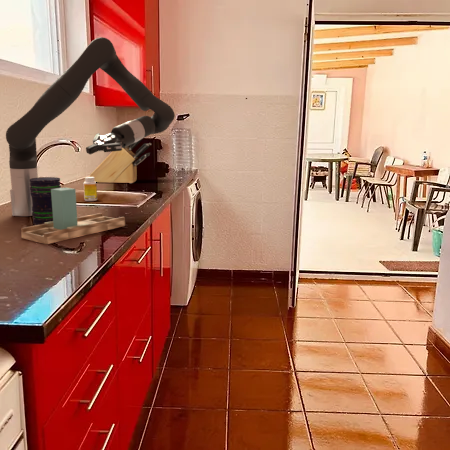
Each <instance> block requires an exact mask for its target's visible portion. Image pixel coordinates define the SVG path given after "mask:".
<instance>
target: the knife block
mask: <svg viewBox="0 0 450 450" xmlns="http://www.w3.org/2000/svg"><path fill="white" fill-rule="evenodd" d="M143 140H144V138H142V139H141V140H139V141H137V142H135V143H133V144H131V145H129V146H126V147H124V148H122V150H121V151H113V152H109V155H107V156H106V158H105V159H103V161H101V163H100V164H98V166H97V167H96V168H95V169H94V170H93V172H91V173H90V174H89V176H88V177H94V179H95V182H97V183H129V184H134V183H135V182H136V181H137V180H138V179H137V176H138V175H137V168H138V167H137V166H139V164H140V163H142V162H143V161H144V160H145V159H146V158H147V157H149V156H151V155H150V154H151V152H147V153H145V151H147V150H148V149H149V148H150V147H151V146H152V143H151V142H149V143H143V144H142V145H141V146H140V147H139V148H138V149H137V150H136V151H135V152H133V151H132V150H134V149H135V148H136V147H137V146H138V144H140V143H141V142H142V141H143ZM144 153H145V154H144ZM142 154H143V155H142ZM140 156H141V157H140Z"/></svg>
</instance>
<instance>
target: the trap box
mask: <svg viewBox="0 0 450 450" xmlns="http://www.w3.org/2000/svg"><path fill="white" fill-rule="evenodd" d="M77 224H78V225H76V226H71V227H67V229H62V230H60V229H56V228H54V225H53V221H51V222H45V224H40V225H37V224H34V225H31V226H25V227H22V228H20V232H21V233H20V234H21V239H23V240H24V239H25V240H27V241H28V240H29V241H31V242H35V243H40V244H43V245H49V244H53V243H57V242H62V241H67V240H71V239H74V238H78V237H83V236H88V235H92V234H97V233H100V232H104V231H108V230H114V229H118V228H121V227H126V218H125V216H120V217H116V218H115V217H109V216H104V215H103V213H102V212H99V213H94V214H89V215H82V216H77Z"/></svg>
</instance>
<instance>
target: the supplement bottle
mask: <svg viewBox="0 0 450 450" xmlns="http://www.w3.org/2000/svg"><path fill="white" fill-rule="evenodd" d="M97 183H98V182H97ZM97 183H96V182H95V179H94V177H89V176H85V177H84V182H83V184H82V185H83V199H84V201H85V202H94V201H95V202H96V201H97V200H98V186H97Z"/></svg>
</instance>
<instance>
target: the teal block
mask: <svg viewBox="0 0 450 450" xmlns="http://www.w3.org/2000/svg"><path fill="white" fill-rule="evenodd" d="M76 193H77V192H76V188H73V187H72V188H71V187H61V188H57V189H51V197H52V211H53V225H54V228H56V229H60V230H62V229H67V227H71V226H76V225H78V224H77V217H78V210H77V208H78V207H77V194H76Z"/></svg>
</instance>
